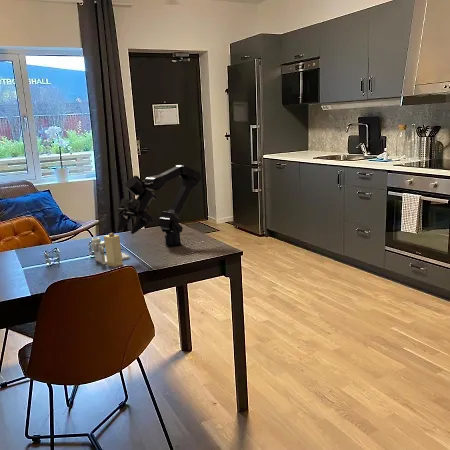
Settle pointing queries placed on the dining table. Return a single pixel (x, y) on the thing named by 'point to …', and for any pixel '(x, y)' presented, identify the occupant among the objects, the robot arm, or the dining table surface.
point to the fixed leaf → (100, 254)
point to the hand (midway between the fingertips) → (124, 232)
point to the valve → (97, 240)
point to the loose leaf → (113, 250)
